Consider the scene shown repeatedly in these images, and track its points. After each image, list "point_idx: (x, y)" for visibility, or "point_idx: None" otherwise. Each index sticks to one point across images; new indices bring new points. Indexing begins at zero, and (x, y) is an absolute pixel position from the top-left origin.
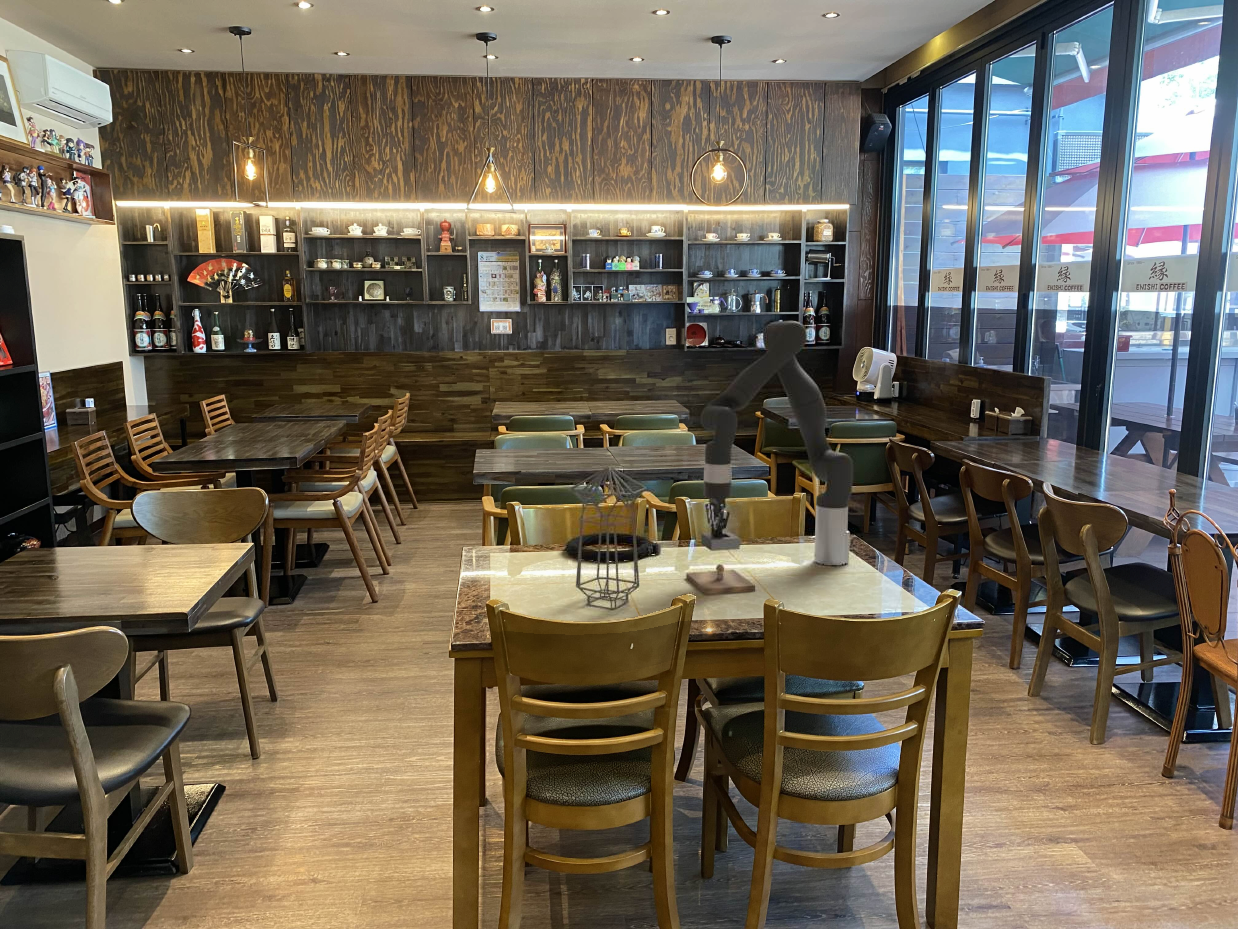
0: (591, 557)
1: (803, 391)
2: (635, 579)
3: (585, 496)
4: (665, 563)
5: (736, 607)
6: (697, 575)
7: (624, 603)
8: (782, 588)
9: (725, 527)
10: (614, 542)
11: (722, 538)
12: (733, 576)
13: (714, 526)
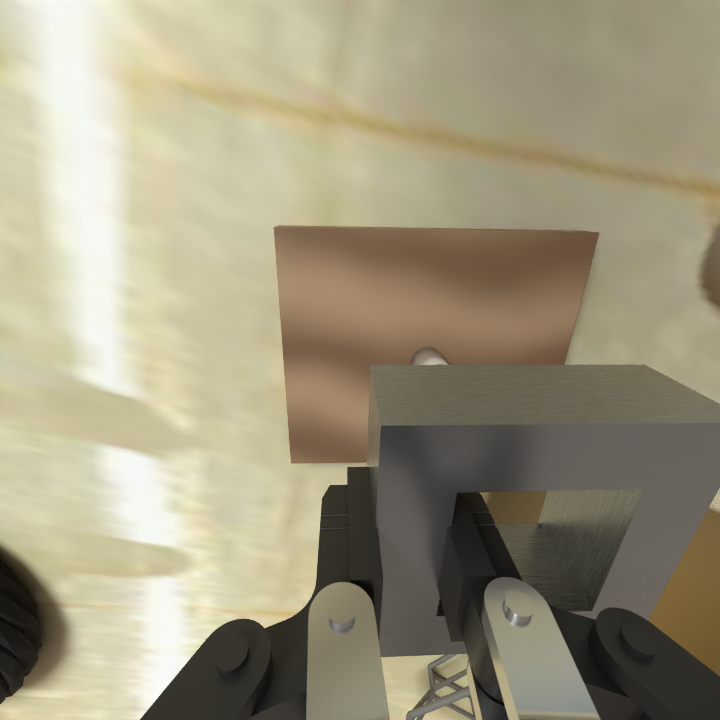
0: (26, 674)
1: None
2: None
3: None
4: (39, 464)
5: (715, 393)
6: (341, 434)
7: None
8: (618, 39)
9: (658, 638)
10: None
11: (643, 570)
12: (406, 281)
13: (492, 699)
